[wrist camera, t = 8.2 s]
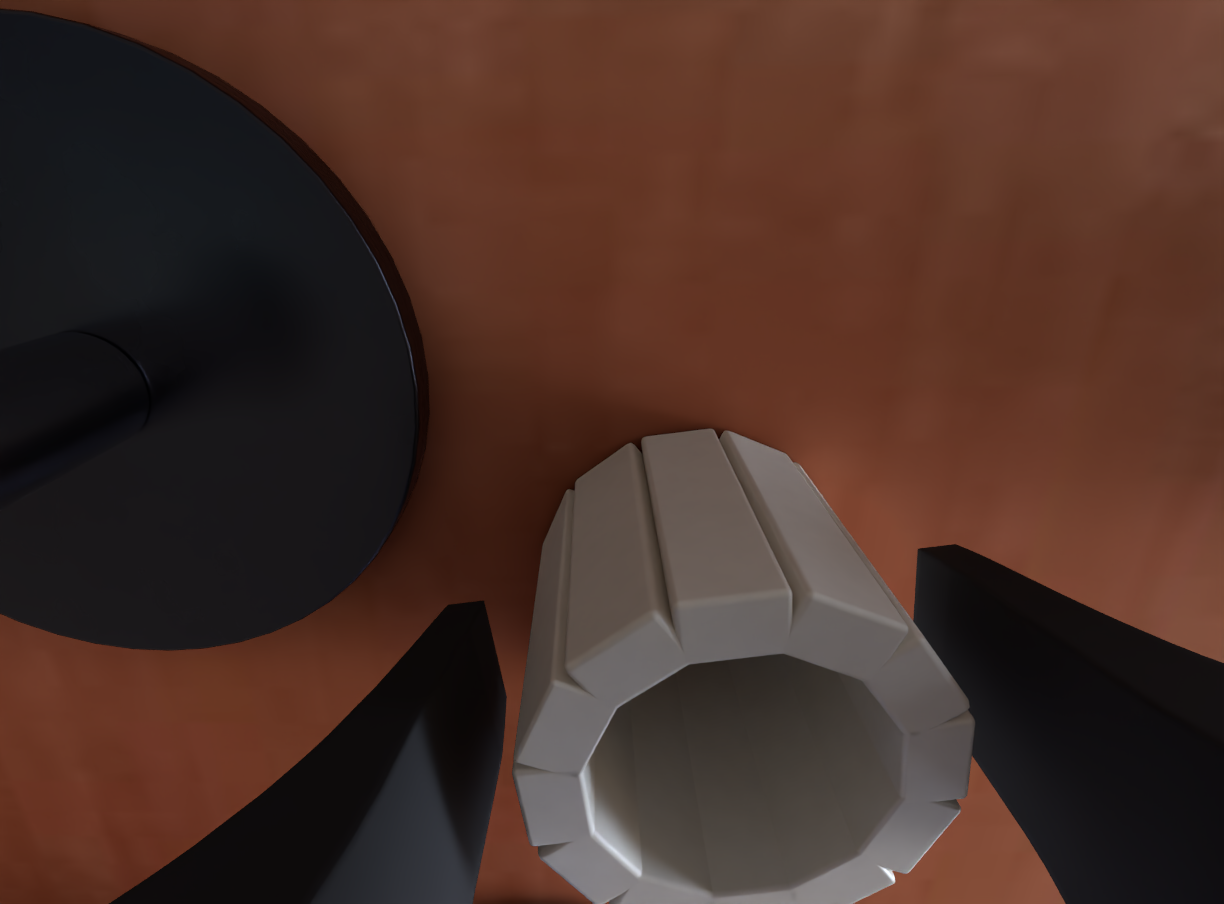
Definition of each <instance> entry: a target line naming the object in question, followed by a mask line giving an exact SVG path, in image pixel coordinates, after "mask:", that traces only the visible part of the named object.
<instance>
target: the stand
mask: <svg viewBox="0 0 1224 904" xmlns="http://www.w3.org/2000/svg"><path fill="white" fill-rule="evenodd" d="M428 422H429V384H428V372H427V366H426V360H425V354H424V348H423V342H422V337H421V333H420V330H419V327H418V323H417V320H416V317H415V314H414V310H413V307H412V304H411V300H410V297H409V295H408V293H407V290H406V288H405V286H404V284H403V281H402V279H401V277H400V275H399V272H398V270H397V268H396V266H395V263H394V261H393V259H392V257H391V255H390V253H389V252H388V250H387V248H386V246H385V245H384V243H383V241H382V240H381V238H380V236H379V235H378V233H377V231H376V230H375V228H374V226H373V224H372V223H371V221H370V219H369V218H368V216H367V215H366V213H365V212H364V211H363V210H362V208H361V207H360V206H359V204H358V203H357V202H356V200H355V199H354V198H353V196H352V195H351V194H350V192H349V191H348V190H347V188H346V187H345V186H344V184H343V183H342V182H341V180H340V179H339V178H338V177H337V176H336V175H335V174H334V172H333V171H332V170H331V169H330V168H329V167H328V166H327V165H326V164H325V163H324V162H323V161H322V160H321V159H320V158H319V157H318V156H317V155H316V154H315V152H314V151H313V150H312V149H311V148H310V147H309V146H308V145H307V144H306V143H305V142H304V141H303V140H302V139H301V138H300V137H298V136H297V135H296V134H295V133H294V132H292V131H291V130H290V129H289V128H288V127H287V126H285V125H284V124H283V123H282V122H281V121H279V120H278V119H277V118H276V117H275V116H273V115H272V114H271V113H270V112H269V111H268V110H266V109H265V108H264V107H263V106H261V105H260V104H258V103H257V102H255V101H254V100H252V99H251V98H249V97H248V96H246V95H245V94H243V93H242V92H240V91H239V90H237V89H236V88H234V87H233V86H231V85H230V84H228V83H227V82H225V81H224V80H222V79H221V78H219V77H217V76H215V75H213V74H212V73H210V72H208V71H206V70H204V69H202V68H200V67H198V66H196V65H194V64H192V63H190V62H188V61H186V60H184V59H182V58H180V57H178V56H176V55H174V54H173V53H170V52H168V51H165V50H162V49H159V48H157V47H154V46H151V45H149V44H146V43H143V42H140V41H138V40H135V39H132V38H130V37H127V36H124V35H121V34H118V33H115V32H112V31H108V30H105V29H102V28H99V27H95V26H92V25H89V24H85V23H81V22H76V21H72V20H68V19H63V18H59V17H55V16H50V15H46V14H42V13H37V12H33V11H22V10H11V9H0V614H2V615H4V616H7V617H9V618H11V619H14V620H16V621H18V622H21V623H24V624H27V625H30V626H33V627H36V628H39V629H42V630H45V631H48V632H51V633H54V634H57V635H61V636H65V637H70V638H74V639H78V640H82V641H86V642H91V643H95V644H101V645H109V646H116V647H123V648H130V649H146V650H186V649H202V648H210V647H216V646H221V645H227V644H232V643H238V642H242V641H245V640H249V639H252V638H255V637H259V636H262V635H265V634H268V633H272V632H274V631H276V630H278V629H281V628H283V627H285V626H287V625H290V624H292V623H294V622H296V621H299V620H301V619H303V618H305V617H306V616H308V615H309V614H311V613H313V612H314V611H316V610H317V609H319V608H321V607H322V606H324V605H325V604H327V603H329V602H330V601H332V600H333V599H334V598H335V597H336V596H338V595H339V594H340V593H341V592H342V591H343V590H345V589H346V588H347V587H348V586H349V585H350V584H352V583H353V582H354V581H355V580H356V579H357V578H358V577H359V576H360V574H361V573H362V572H363V571H364V570H365V569H366V568H367V566H368V565H369V564H370V563H371V562H372V561H373V560H374V558H375V557H376V556H377V555H378V553H379V551H380V550H381V548H382V547H383V545H384V543H385V542H386V540H387V539H388V537H389V536H390V534H391V532H392V531H393V529H394V528H395V526H396V524H397V522H398V520H399V519H400V517H401V515H402V513H403V512H404V510H405V507H406V505H407V503H408V501H409V498H410V496H411V494H412V491H413V489H414V487H415V484H416V482H417V479H418V475H419V471H420V468H421V464H422V460H423V456H424V452H425V449H426V440H427V431H428Z"/></svg>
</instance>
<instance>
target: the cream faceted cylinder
mask: <svg viewBox="0 0 1224 904" xmlns="http://www.w3.org/2000/svg"><path fill="white" fill-rule="evenodd" d="M641 446H642V453H641V452H640V451H639V450H638V448H637V447H636V446H635V445H634V444H632V443H629V444H626V445H625V446H624V447H622V448H621V449H619V450H618V451H617V452H615V453H614V454H612V455H611V456H609V457H608V458H607V459H605V460H604V461H602V462H601V463H600V464H598V465H597V466H595V467H594V468H592V469H591V470H590V471H588V472H587V473H585V474H584V475H583V476H581V477H580V478H578V479H577V480H576V482H575V491H574V490H571V489H568V490H567V491H566V492H565V495H564V497H563V499H562V501H561V504H560V506H559V508H558V511H557V513H556V515H555V517H554V520H553V522H552V524H551V527H550V529H549V531H548V533H547V536H546V538H545V540H544V542H543V546H542V553H541V560H540V568H539V575H538V582H537V590H536V597H535V604H534V611H533V619H532V626H531V633H530V641H529V648H528V655H527V662H526V670H525V677H524V684H523V692H522V699H521V706H520V713H519V721H518V728H517V735H516V743H515V750H514V763H513V770H512V775H513V779H514V783H515V787H516V791H517V795H518V799H519V803H520V807H521V812H522V816H523V820H524V824H525V828H526V832H527V836H528V840H529V843H530V845H532V846H538V854H539V857H540V859H541V860H543V861H544V862H545V863H546V864H547V865H548V866H550V867H551V868H552V869H553V870H554V871H556V872H557V873H558V874H559V875H560V876H562V877H563V878H564V879H565V880H566V881H567V882H569V883H570V884H571V885H572V886H573V887H575V888H576V889H577V890H578V891H579V892H581V893H582V894H583V895H584V896H585V897H586V898H588V899H589V900H590V901H591V902H592V903H594V904H604V903H606V902H608V901H609V904H852V903H855V902H857V901H859V900H861V899H863V898H865V897H867V896H869V895H871V894H873V893H875V892H877V891H879V890H881V889H883V888H886V887H888V886H890V885H892V884H894V882H895V877H894V874H893V872H892V870H894V871H897V872H901V873H904V874H906V873H909V872H910V870H911V869H912V868H913V867H914V866H915V865H916V863H917V862H918V861H919V860H920V859H921V858H922V856H923V855H924V854H925V853H926V852H927V850H928V849H929V848H930V847H931V846H932V845H933V843H934V842H935V841H936V840H937V839H938V837H939V836H940V835H941V834H942V833H943V832H944V830H945V829H946V828H947V827H948V826H949V825H950V823H951V822H952V821H953V820H954V819H955V817H956V816H957V815H958V814H959V813H960V811H961V807H960V805H959V804H958V802H957V800H956V799H963V798H965V797H966V796H967V792H968V783H969V774H970V765H971V757H972V748H973V739H974V730H975V720H974V718H973V716H972V715H971V714H970V712H969V711H968V709H969V708H970V706H969V700H968V698H967V697H966V695H965V694H964V693H963V691H962V690H961V688H960V687H959V685H958V684H957V683H956V681H955V680H954V678H953V677H952V676H951V674H950V673H949V671H948V670H947V668H946V667H945V666H944V664H943V663H942V661H941V660H940V658H939V657H938V656H937V654H936V653H935V651H934V650H933V649H932V647H931V646H930V644H929V643H928V641H927V640H926V639H925V637H924V636H923V634H922V633H921V632H920V630H919V629H918V627H917V626H916V625H915V623H914V622H913V621H912V619H911V618H910V616H909V615H908V614H907V612H906V611H905V610H904V608H903V607H902V605H901V604H900V603H899V601H898V600H897V598H896V597H895V596H894V594H893V593H892V592H891V590H890V589H889V587H888V586H887V585H886V583H885V582H884V580H883V579H882V578H881V576H880V575H879V574H878V572H877V571H876V569H875V568H874V567H873V565H872V564H871V562H870V561H869V560H868V558H867V557H866V556H865V554H864V553H863V551H862V550H861V549H860V547H859V546H858V545H857V543H856V542H855V540H854V539H853V538H852V536H851V535H850V533H849V532H848V531H847V529H846V528H845V527H844V525H843V524H842V522H841V521H840V520H839V518H838V517H837V515H836V514H835V513H834V511H833V510H832V509H831V507H830V506H829V504H828V503H827V502H826V500H825V499H824V498H823V496H822V495H821V493H820V492H819V491H818V489H817V488H816V486H815V485H814V484H813V482H812V481H811V480H810V478H809V477H808V475H807V474H806V473H805V471H804V470H803V468H802V467H801V466H800V464H798V463H796V462H794V463H793V462H792V461H791V459H790V458H789V457H788V455H787V454H786V453H783V452H781V451H778V450H776V449H773V448H771V447H768V446H766V445H763V444H761V443H758V442H756V441H753V440H751V439H748V438H746V437H743V436H741V435H738V434H736V433H733V432H731V431H724V432H723V433H722V435H721V437H720V439H718V437H717V435H716V433H715V431H714V429H702V430H694V431H686V432H678V433H670V434H662V435H654V436H646V437H644V438H642V441H641Z"/></svg>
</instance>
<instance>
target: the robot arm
mask: <svg viewBox="0 0 1224 904" xmlns="http://www.w3.org/2000/svg"><path fill="white" fill-rule="evenodd" d="M913 622H914V623H915V625H916V626H917V627H918V629H919V630H920V632H921V633H922V634H923V636H924V637H925V639H926V640H927V641H928V643H929V644H930V646H931V647H932V649H933V650H934V651H935V653H936V654H937V656H938V657H939V658H940V660H941V661H942V663H943V664H944V666H945V667H946V668H947V670H948V671H949V673H950V674H951V676H952V677H953V678H954V680H955V681H956V683H957V684H958V685H959V687H960V688H961V690H962V691H963V693H964V694H965V695H966V697H967V698H968V700H969V706H970V708H969V709H968V711H969V712H970V714H971V715H972V716H973V718H974V720H975V730H974V739H973V748H972V756H973V757H974V759H975V760H976V762H977V763H978V765H979V766H980V768H981V769H982V771H983V772H984V774H985V775H986V776H987V778H988V779H989V781H990V782H991V784H992V785H993V787H994V788H995V790H996V791H997V793H998V794H999V796H1000V797H1001V799H1002V800H1003V802H1004V803H1005V805H1006V806H1007V808H1008V809H1009V811H1010V812H1011V814H1012V815H1013V817H1014V818H1015V820H1016V821H1017V822H1018V824H1019V825H1020V827H1021V828H1022V830H1023V831H1024V833H1025V834H1026V836H1027V838H1028V839H1029V841H1030V842H1031V844H1032V846H1033V847H1034V849H1035V850H1036V852H1037V854H1038V855H1039V857H1040V859H1041V860H1042V862H1043V863H1044V865H1045V867H1046V868H1047V870H1048V872H1049V874H1050V876H1051V878H1052V879H1053V881H1054V883H1055V885H1056V887H1057V888H1058V890H1059V892H1060V894H1061V896H1062V898H1063V899H1064V901H1065V903H1066V904H1224V663H1222V662H1219V661H1216V660H1213V659H1211V658H1208V657H1205V656H1202V655H1200V654H1197V653H1195V652H1192V651H1190V650H1187V649H1185V648H1182V647H1180V646H1177V645H1175V644H1172V643H1170V642H1167V641H1165V640H1163V639H1160V638H1158V637H1156V636H1153V635H1151V634H1149V633H1146V632H1144V631H1142V630H1139V629H1137V628H1135V627H1132V626H1130V625H1128V624H1125V623H1123V622H1121V621H1118V620H1116V619H1114V618H1112V617H1110V616H1107V615H1105V614H1103V613H1101V612H1099V611H1096V610H1094V609H1092V608H1090V607H1088V606H1086V605H1083V604H1081V603H1079V602H1077V601H1075V600H1073V599H1071V598H1069V597H1067V596H1064V595H1062V594H1060V593H1058V592H1056V591H1054V590H1052V589H1050V588H1048V587H1046V586H1044V585H1042V584H1040V583H1038V582H1036V581H1033V580H1031V579H1029V578H1027V577H1025V576H1023V575H1021V574H1019V573H1017V572H1015V571H1013V570H1011V569H1009V568H1007V567H1005V566H1003V565H1001V564H999V563H997V562H994V561H992V560H990V559H988V558H986V557H984V556H982V555H980V554H977V553H975V552H973V551H971V550H968V549H966V548H964V547H961V546H959V545H956V544H954V545H945V546H937V547H929V548H920V549H918V556H917V572H916V588H915V604H914V620H913ZM506 698H507V696H506V692H505V688H504V684H503V679H502V675H501V671H500V666H499V662H498V658H497V654H496V649H495V645H494V641H493V637H492V632H491V628H490V624H489V620H488V615H487V611H486V607H485V603H484V601H477V602H468V603H460V604H451V605H448V606H447V607H446V608H445V609H444V610H443V611H442V612H441V613H440V614H439V615H438V617H437V618H436V619H435V620H434V621H433V622H432V623H431V625H430V626H429V627H428V628H427V629H426V630H425V632H424V633H423V634H422V635H421V636H420V637H419V639H418V640H417V641H416V642H415V643H414V644H413V645H412V647H411V648H410V649H409V650H408V651H407V652H406V654H405V655H404V656H403V657H402V658H401V659H400V660H399V661H398V662H397V664H396V665H395V666H394V667H393V668H392V669H391V670H390V671H389V673H388V674H387V675H386V676H385V677H384V678H383V679H382V680H381V681H380V683H379V684H378V685H377V686H376V687H375V688H374V689H373V690H372V691H371V692H370V693H369V694H368V695H367V696H366V697H365V698H364V699H363V700H362V701H361V702H360V703H359V704H358V705H357V706H356V707H355V708H354V709H353V710H352V711H351V712H350V713H349V714H348V715H347V716H346V717H345V719H344V720H343V721H342V722H341V723H340V724H339V725H338V726H337V727H336V728H335V729H334V730H333V731H332V732H331V733H330V734H329V735H328V736H327V737H326V738H324V739H323V740H322V741H321V742H320V743H319V744H318V745H317V746H316V747H315V748H314V749H313V750H312V751H310V752H309V753H308V754H307V755H306V756H305V757H304V758H303V759H302V760H301V761H299V762H298V763H297V764H296V765H295V766H294V767H292V768H291V769H290V770H289V771H288V772H287V773H285V774H284V775H283V776H282V777H281V778H280V779H279V780H277V781H276V782H275V783H274V784H273V785H272V786H270V787H269V788H268V789H267V790H266V791H264V792H263V793H262V794H261V795H259V796H258V797H257V798H256V799H254V800H253V801H252V802H250V803H249V804H248V805H247V806H245V807H244V808H243V809H241V810H240V811H239V812H237V813H236V814H235V815H233V816H232V817H231V818H230V819H228V820H227V821H226V822H224V823H223V824H222V825H220V826H219V827H218V828H216V829H215V830H214V831H213V832H211V833H210V834H209V835H207V836H206V837H205V838H203V839H202V840H201V841H199V842H198V843H197V844H196V845H194V846H193V847H191V848H190V849H189V850H187V851H186V852H185V853H183V854H182V855H180V856H179V857H177V858H176V859H175V860H173V861H172V862H170V863H169V864H167V865H166V866H164V867H163V868H162V869H160V870H159V871H157V872H156V873H154V874H153V875H151V876H150V877H149V878H147V879H146V880H144V881H143V882H141V883H140V884H138V885H137V886H135V887H134V888H132V889H131V890H129V891H127V892H126V893H124V894H123V895H121V896H120V897H118V898H117V899H115V900H114V901H112V902H111V903H109V904H473V898H474V893H475V888H476V883H477V878H478V873H479V868H480V863H481V858H482V853H483V849H484V844H485V839H486V834H487V829H488V824H489V819H490V814H491V809H492V804H493V799H494V794H495V789H496V784H497V779H498V774H499V769H500V764H501V758H502V751H503V739H504V728H505V713H506Z"/></svg>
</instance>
